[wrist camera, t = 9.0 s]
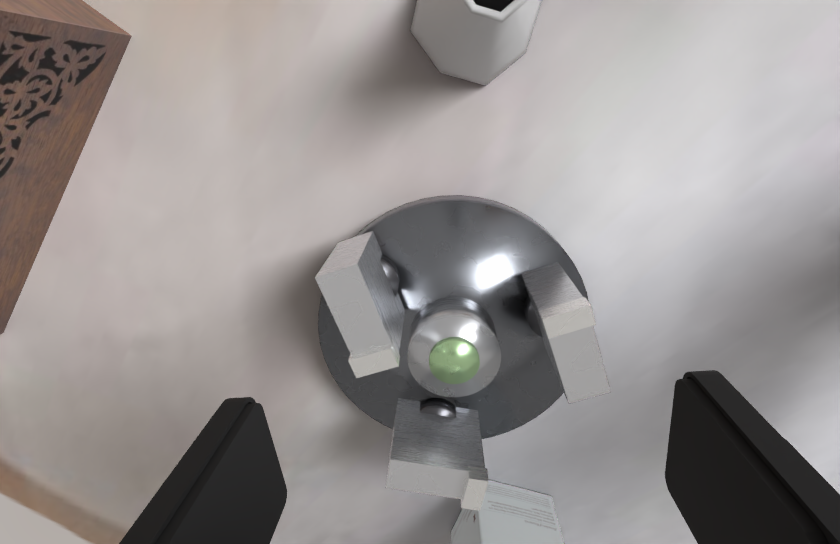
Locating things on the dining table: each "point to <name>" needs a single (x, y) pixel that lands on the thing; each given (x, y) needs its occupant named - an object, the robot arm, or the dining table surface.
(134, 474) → the dining table surface
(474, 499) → the knob
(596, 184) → the dining table surface
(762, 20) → the dining table surface
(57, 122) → the tissue box cover
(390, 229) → the levelling plate
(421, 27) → the flask
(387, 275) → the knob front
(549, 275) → the knob
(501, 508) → the supplement box
